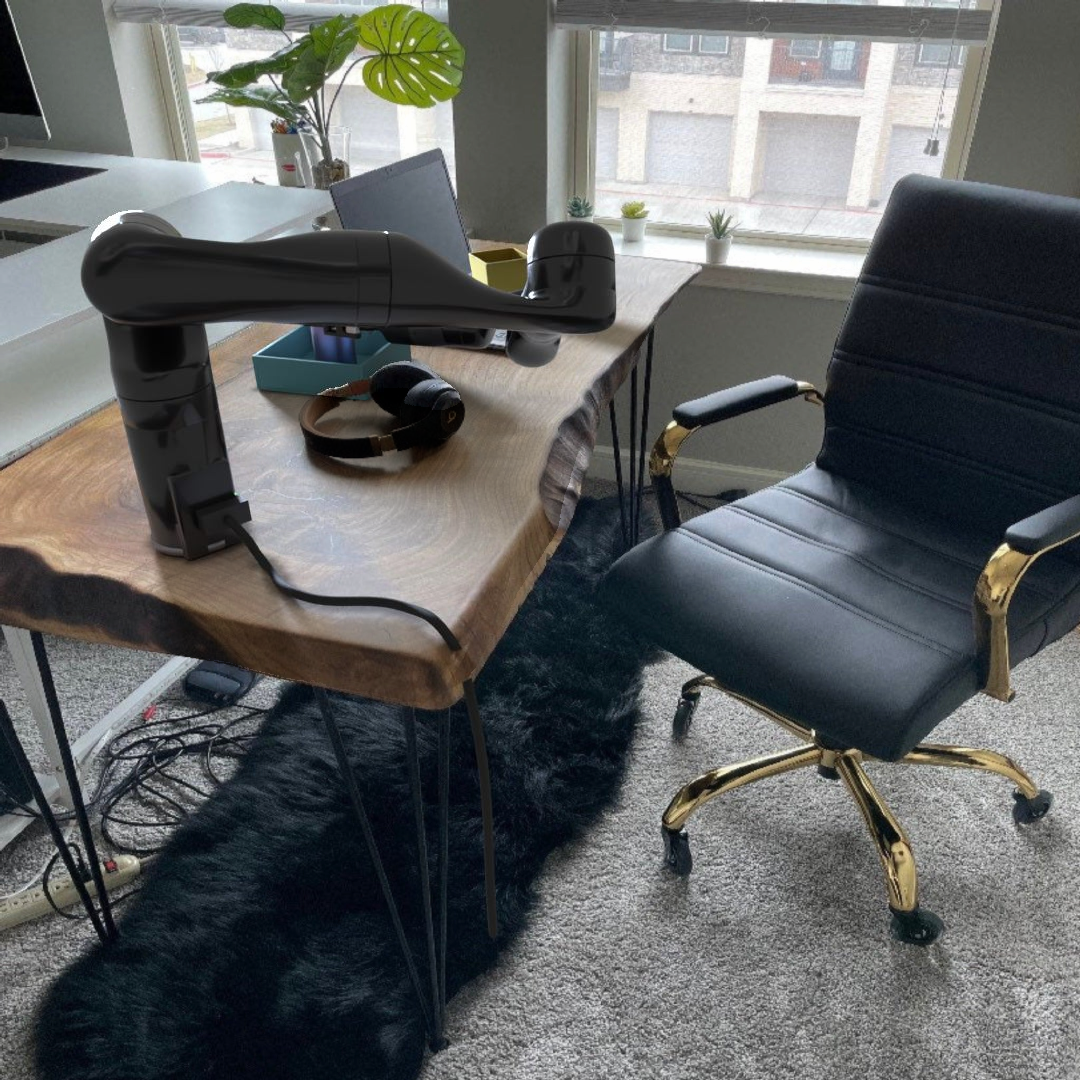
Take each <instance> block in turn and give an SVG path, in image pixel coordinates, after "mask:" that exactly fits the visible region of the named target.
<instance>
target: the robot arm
mask: <svg viewBox="0 0 1080 1080" xmlns="http://www.w3.org/2000/svg"><path fill="white" fill-rule="evenodd" d="M614 245H615V244H614V241H613V237H612V235H611V234H610V233H609V231H608V230H607V229H606V228H605V227H604V226H602V225H600V224H598V223H595V222H591V221H587V220H586V221H585V220H563V221H557V222H552V223H549V224H546V225H544V226H542V227H540V228H538V229H537V230H536V231H535V232H534V233H533V234H532V236H531V238H530V240H529V242H528V247H527V251H526V252H527V253H526V254H527V282H526V285H525V288H524V289H519V290H515V291H511V292H505V291H502V290H499V289H495V288H493V287H491V286H488V285H486V284H484V283H482V282H480V281H478V280H477V279H475V278H473V276H472V275H470V274H469V273H467V272H465V271H464V270H463V269H461V268H460V267H458V266H457V265H456V264H455V263H453V262H452V261H450V259H447V258H446V257H444V256H443V255H442V254H440V253H439V252H438V251H437V250H435V249H433V248H431V247H430V246H428V245H426V244H425V243H424V242H422V241H421V240H419V239H417V238H414V237H413V236H410V235H408V234H405V233H401V232H397V231H383V230H365V229H326V230H325V229H324V230H317V231H310V232H303V233H297V234H292V235H291V234H290V235H286V236H281V237H276V238H271V239H266V240H259V241H244V242H243V241H238V242H237V241H222V240H221V241H220V240H212V239H200V238H191V237H183V235H182V234H181V232H180V231H179V229H177V228H176V227H175V226H174V225H173V224H172V223H171V222H169V221H168V220H166V219H165V218H163V217H161V216H159V215H157V214H155V213H152V212H148V211H143V210H128V211H122V212H118V213H116V214H114V215H112V216H109V217H108V218H107V219H105V220H104V221H102V222H101V224H100V225H98V227H97V228H96V229H95V231H94V232H93V234H92V236H91V238H90V240H89V243H88V245H87V246H86V249H85V252H84V253H83V257H82V261H81V265H80V283H81V288H82V290H83V293H84V295H85V297H86V298H87V300H88V302H89V303H90V304H91V305H92V307H93V308H94V309H95V310H96V311H97V312H99V313H100V314H101V316H102V317H101V318H102V320H103V326H104V329H105V335H106V336H105V337H106V343H107V349H108V350H107V351H108V360H109V361H108V362H109V370H110V375H111V379H112V382H113V387H114V391H115V395H116V398H117V402H118V406H119V410H120V414H121V418H122V424H123V427H124V431H125V435H126V439H127V442H128V447H129V451H130V455H131V459H132V462H133V466H134V471H135V475H136V478H137V483H138V487H139V492H140V495H141V498H142V502H143V507H144V511H145V514H146V518H147V522H148V526H149V530H150V539H151V543H152V545H153V547H154V548H155V549H156V550H157V551H158V552H160V553H162V554H165V555H168V556H174V557H184V558H186V559H187V560H188V561H192V560H195V559H197V558H200V557H203V556H206V555H208V554H211V553H213V552H216V551H219V550H222V549H224V548H227V547H231V546H232V545H235V544H237V543H240V542H243V544H244V545H245V547H246V548H247V549H248V551H249V553H250V554H251V556H252V557H253V558H254V559H255V561H256V562H257V563H258V564H259V567H261V569H262V570H263V571H265V572H266V574H268V576H269V577H270V579H271V581H272V583H273V584H274V585H275V587H276V588H277V589H278V590H279V591H280V592H282V594H283V593H284V594H285V595H287V596H289V597H292V598H294V599H297V600H299V601H302V602H305V603H309V604H313V605H319V606H325V607H326V606H327V607H376V608H386V609H391V610H395V611H399V612H401V613H402V612H403V613H405V614H409V615H412V616H415V617H418V618H420V619H422V620H424V621H425V622H427V623H428V624H429V625H430V626H432V627H433V629H434V630H435V631H436V632H437V633H438V634H439V635H440V636H441V638H442V639H443V641H444V642H445V644H446V645H447V646H448V648H449V649H450V650H451V651H454V652H459V651H461V650H462V645H461V644H460V642H459V640H458V639H457V637H456V636H455V634H454V633H453V631H451V629H450V628H449V627H448V625H447V624H446V623H445V621H443V620H442V619H441V618H440V617H439V616H438V615H437V614H436V613H434V612H433V611H431V610H429V609H427V608H424V607H422V606H419V605H415V604H413V603H411V602H406V601H403V600H399V599H396V598H392V597H383V596H373V595H372V596H371V595H344V596H343V595H326V594H325V595H324V594H317V593H311V592H308V591H305V590H302V589H300V588H298V587H295V586H294V585H291V584H289V583H287V582H286V581H285V580H284V579H283V578H282V577H281V576H280V574H279V573H278V572H277V570H276V569H275V567H274V566H273V565H272V563H271V562H270V561H269V560H268V558H267V557H266V556H265V554H264V552H262V550H261V549H260V548H259V546H258V544H257V543H256V541H255V540H254V538H253V537H252V536H251V534H250V533H249V532H248V531H247V529H246V528H244V527H245V526H244V524H246V523H249V522H251V521H253V518H252V512H251V509H250V508H251V507H250V501H249V500H248V499H247V498H245V497H244V496H243V495H241V494H240V493H238V494H237V492H236V491H237V490H236V487H235V482H234V481H235V480H234V475H233V471H232V467H231V462H230V456H229V451H228V446H227V441H226V437H225V431H224V426H223V421H222V415H221V410H220V406H219V400H218V395H217V390H216V385H215V380H214V373H213V369H212V364H211V357H210V348H209V341H208V335H207V329H206V325H210V324H224V323H245V322H246V323H247V322H248V323H250V322H251V323H253V322H254V323H267V324H268V323H269V324H280V325H298V326H300V325H304V326H310V327H322V328H323V332H324V334H325V335H331V336H338V337H345V338H352V339H359V338H361V332H364V333H373V332H375V331H377V330H378V331H380V332H381V333H382V334H383V336H384V338H385V339H386V341H388V342H389V343H391V344H402V345H410V346H417V347H426V348H442V347H443V348H444V347H446V348H448V347H449V348H458V349H459V348H461V349H472V350H483V349H486V348H488V347H489V346H490V345H491V343H492V342H493V339H494V337H495V335H496V332H497V330H499V331H500V330H501V331H506V333H505V339H504V341H505V342H504V349H505V353H506V355H507V357H508V358H509V359H510V360H511V361H512V362H513V363H514V364H516V365H518V366H520V367H524V368H528V369H536V368H542V367H544V366H546V365H549V364H550V363H551V362H552V361H554V359H556V357H557V355H558V351H559V349H560V346H561V342H562V337H563V336H564V335H565V336H583V335H591V334H592V335H593V334H598V333H602V332H605V331H607V330H609V329H610V328H611V327H613V325H614V323H615V321H616V319H617V318H616V317H617V283H616V282H617V281H616V251H615V246H614ZM461 685H462V689H463V694H464V697H465V702H466V707H467V712H468V715H469V719H470V726H471V731H472V735H473V742H474V747H475V757H476V763H477V771H478V778H479V787H480V800H481V801H480V802H481V815H482V831H483V857H484V858H483V859H484V878H485V880H484V881H485V897H486V898H485V899H486V900H485V901H486V913H487V924H488V926H487V927H488V936H489V937H490V938H492V939H494V938H497V937H498V936H499V928H498V915H497V914H498V913H497V900H496V881H495V879H496V878H495V853H494V852H495V851H494V850H495V849H494V848H495V847H494V824H493V821H494V820H493V805H492V804H493V803H492V802H493V801H492V791H491V790H492V789H491V780H490V771H489V762H488V761H489V760H488V755H487V747H486V746H487V745H486V741H485V734H484V729H483V724H482V723H483V722H482V719H481V718H482V717H481V713H480V709H479V708H480V707H479V704H478V699H477V696H476V695H477V694H476V691H475V690H476V689H475V685H474V681H473V677H470V678H467V679H465V680H464V681H462V682H461Z"/></svg>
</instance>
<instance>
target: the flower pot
mask: <svg viewBox="0 0 1080 1080" xmlns="http://www.w3.org/2000/svg"><path fill="white" fill-rule="evenodd" d="M468 258H469V266H470V270H471V277H473V278H475V279H477V280H478V281H480V282H482V283H484V284H486V285H488V286H491V287H493V288H495V289H499V290H502V291H505V292H511V291H515V290H519V289H524V288H525V285H526V282H527V253H526V252H523V251H522V250H520V249H518V248H516V247H514V246H510V247H503V248H496V249H488V250H480V251H474V252H473V251H472V252H469V253H468Z"/></svg>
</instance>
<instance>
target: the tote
mask: <svg viewBox="0 0 1080 1080" xmlns="http://www.w3.org/2000/svg"><path fill="white" fill-rule="evenodd" d="M354 341H355V350H356V358H357V365H356V364H345V363H334V362H324V361H315V354H314V347H313V340H312V333H311V327H310V326H304V325H298V326H297V327H295V328H294V329H292V330H291V331H289V332H288V333H286V334H284V335H283V336H281V337H279V338H278V339H277V340H275V341H273V342H272V343H270V344H269V345H267V346H266V347H264V348H262V349H261V350H259V351H258V352H256V353H255V354H253V355H251V359H252V366H253V372H254V377H255V383H256V389H257V390H263V391H269V392H270V391H273V392H281V393H291V394H298V395H299V394H300V395H310V396H318V395H317V394H318V393H321V392H323V391H325V390H326V389H329V388H335V387H341V386H343V385H345V384H347V383H349V382H352V381H355V380H360V379H365V378H369V377H370V376H372V375H373V374H374V373H375V372H376V371H378V370H379V369H381V368H382V367H383V366H385V365H388V364H390V363H394V362H399V361H404V360H405V361H411V362H412V359H413V358H412V349H411V345H402V344H391V343H389V342H388V341H386V339H385V338H384V336H383V334H382V333H381V332H380V331H378V330H377V331H375V332H373V333H364V332H361V338H359V339H354ZM371 397H372V396H371V395H370V393H369V392H367V393H366V394H361V395H357V396H352V397H348V398H346V399H348V400H356V401H357V400H358V401H367V400H368V399H370V398H371Z"/></svg>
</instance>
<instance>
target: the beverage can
mask: <svg viewBox="0 0 1080 1080" xmlns="http://www.w3.org/2000/svg"><path fill="white" fill-rule="evenodd" d="M311 333H312V340H313V347H314V354H315V361H324V362H334V363H345V364H356V365H357V358H356V350H355V341H354V339H352V338H345V337H338V336H331V335H325V334H324V332H323V328H322V327H311Z"/></svg>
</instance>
